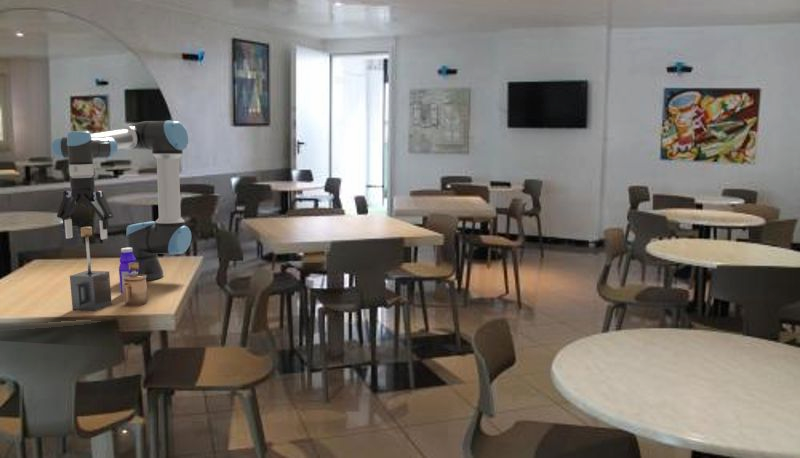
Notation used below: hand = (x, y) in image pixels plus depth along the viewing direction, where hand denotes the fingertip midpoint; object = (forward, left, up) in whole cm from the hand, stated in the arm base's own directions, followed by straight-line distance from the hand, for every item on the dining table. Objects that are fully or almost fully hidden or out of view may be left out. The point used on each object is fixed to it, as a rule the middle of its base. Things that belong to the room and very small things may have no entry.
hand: (86, 238), depth 243 cm
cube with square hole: (+1, 0, -24) cm, 24 cm away
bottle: (-21, +1, -25) cm, 32 cm away
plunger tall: (0, 0, -15) cm, 15 cm away
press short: (-7, +12, -24) cm, 28 cm away
